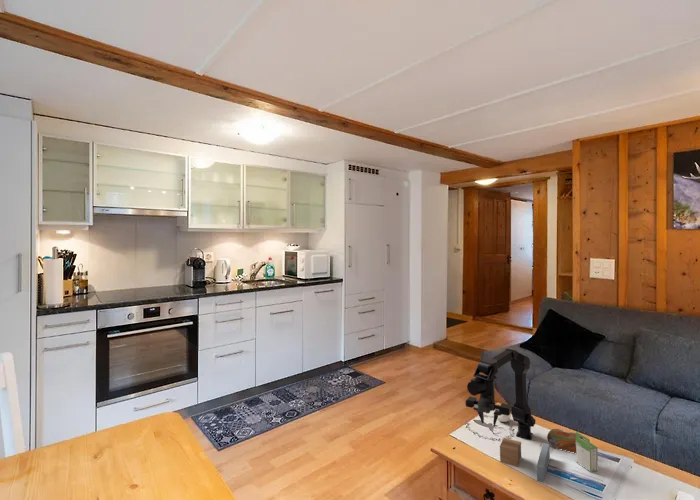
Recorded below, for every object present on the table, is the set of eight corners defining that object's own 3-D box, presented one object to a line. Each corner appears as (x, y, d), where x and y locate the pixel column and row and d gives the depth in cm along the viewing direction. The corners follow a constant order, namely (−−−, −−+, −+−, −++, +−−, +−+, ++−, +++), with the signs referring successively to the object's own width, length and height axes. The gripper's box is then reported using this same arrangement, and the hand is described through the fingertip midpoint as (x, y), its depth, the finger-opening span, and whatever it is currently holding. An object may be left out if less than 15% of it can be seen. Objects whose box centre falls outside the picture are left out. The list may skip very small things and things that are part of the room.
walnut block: (504, 453, 162) (503, 437, 162) (521, 457, 158) (520, 441, 158) (500, 462, 156) (499, 445, 156) (517, 467, 152) (517, 450, 152)
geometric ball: (499, 424, 194) (493, 408, 198) (514, 421, 191) (508, 405, 196) (496, 422, 188) (491, 406, 193) (512, 419, 185) (506, 403, 190)
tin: (547, 446, 167) (546, 428, 167) (548, 443, 169) (547, 425, 169) (586, 457, 157) (585, 437, 157) (586, 453, 160) (586, 434, 160)
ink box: (598, 471, 148) (597, 438, 147) (590, 472, 147) (589, 439, 147) (584, 461, 154) (583, 430, 154) (576, 462, 154) (575, 431, 154)
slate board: (543, 456, 159) (543, 442, 159) (549, 458, 157) (549, 444, 157) (537, 481, 142) (536, 465, 142) (543, 483, 141) (543, 467, 141)
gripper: (461, 391, 161) (462, 426, 161) (505, 400, 150) (507, 438, 150) (468, 383, 170) (469, 416, 170) (511, 391, 159) (512, 427, 159)
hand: (488, 424), depth 162 cm, fingers open, 5 cm apart
